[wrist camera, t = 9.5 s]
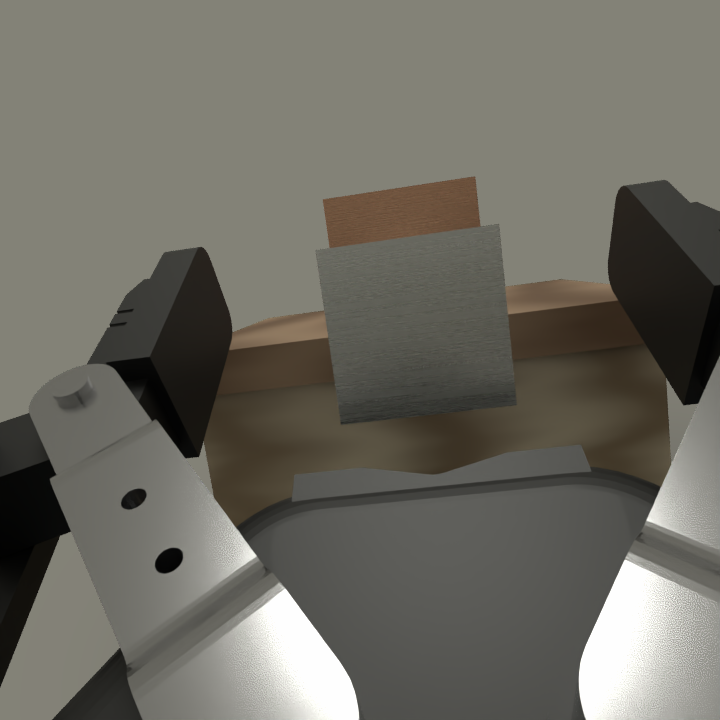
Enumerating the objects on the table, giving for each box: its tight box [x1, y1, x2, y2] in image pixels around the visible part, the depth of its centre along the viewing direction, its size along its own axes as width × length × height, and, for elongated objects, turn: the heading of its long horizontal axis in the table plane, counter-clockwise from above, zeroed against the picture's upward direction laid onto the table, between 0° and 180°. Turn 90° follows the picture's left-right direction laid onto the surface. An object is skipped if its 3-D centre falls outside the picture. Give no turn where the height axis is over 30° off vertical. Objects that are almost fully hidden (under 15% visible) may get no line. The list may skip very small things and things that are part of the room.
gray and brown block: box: [316, 177, 517, 425], centre depth 18 cm, size 6×22×5 cm, turn 175°
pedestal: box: [204, 279, 671, 527], centre depth 29 cm, size 17×15×32 cm
